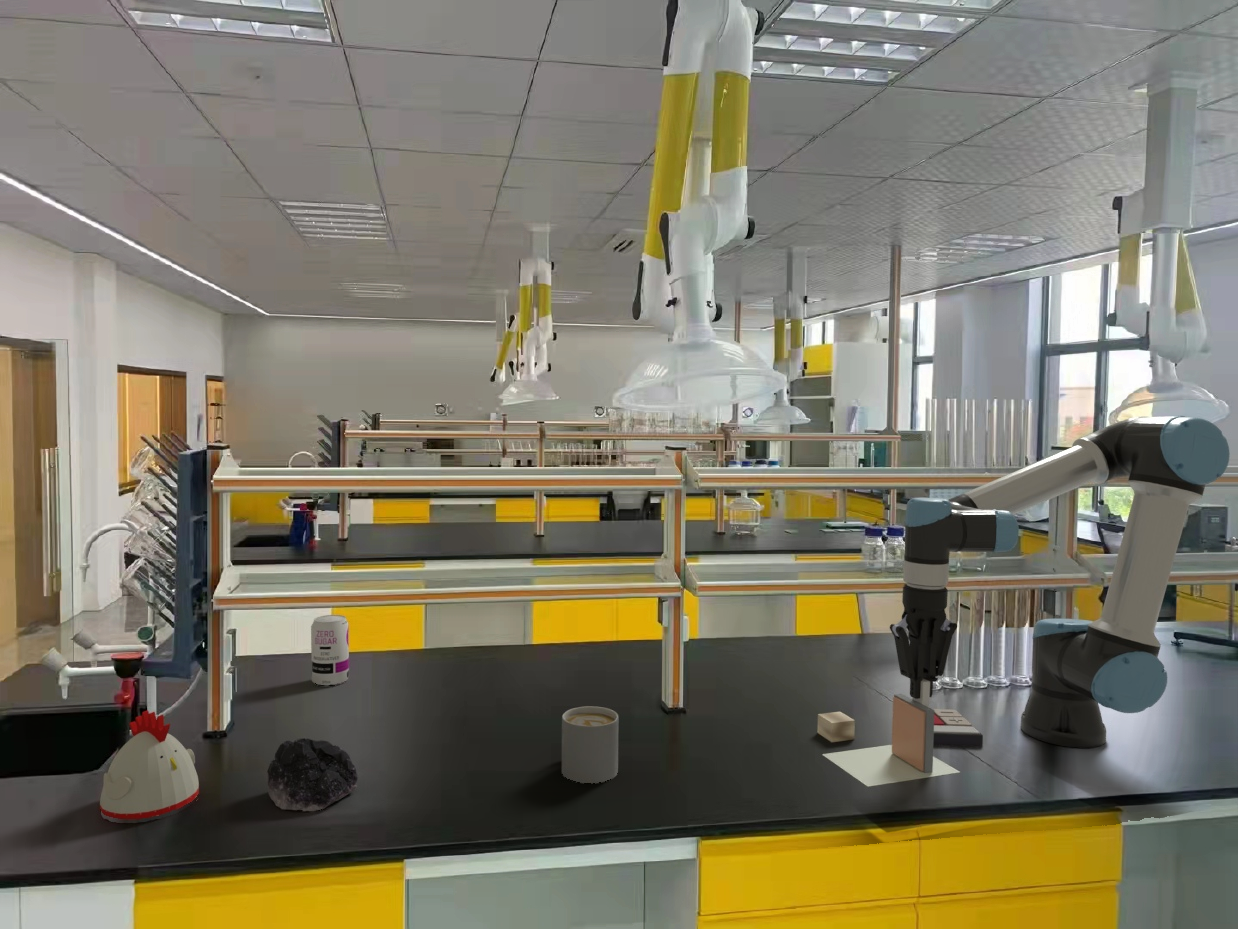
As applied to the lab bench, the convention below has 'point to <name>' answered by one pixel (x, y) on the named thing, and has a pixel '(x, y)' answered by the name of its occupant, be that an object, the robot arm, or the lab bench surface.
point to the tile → (913, 732)
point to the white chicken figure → (149, 773)
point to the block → (836, 726)
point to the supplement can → (330, 649)
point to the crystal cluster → (310, 775)
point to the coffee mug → (590, 744)
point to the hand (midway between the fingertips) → (920, 715)
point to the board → (883, 766)
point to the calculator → (954, 730)
